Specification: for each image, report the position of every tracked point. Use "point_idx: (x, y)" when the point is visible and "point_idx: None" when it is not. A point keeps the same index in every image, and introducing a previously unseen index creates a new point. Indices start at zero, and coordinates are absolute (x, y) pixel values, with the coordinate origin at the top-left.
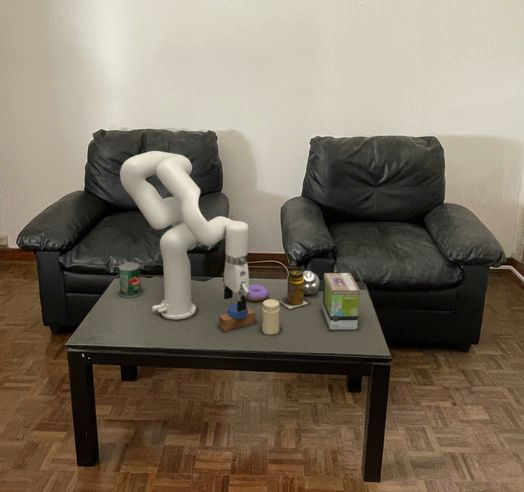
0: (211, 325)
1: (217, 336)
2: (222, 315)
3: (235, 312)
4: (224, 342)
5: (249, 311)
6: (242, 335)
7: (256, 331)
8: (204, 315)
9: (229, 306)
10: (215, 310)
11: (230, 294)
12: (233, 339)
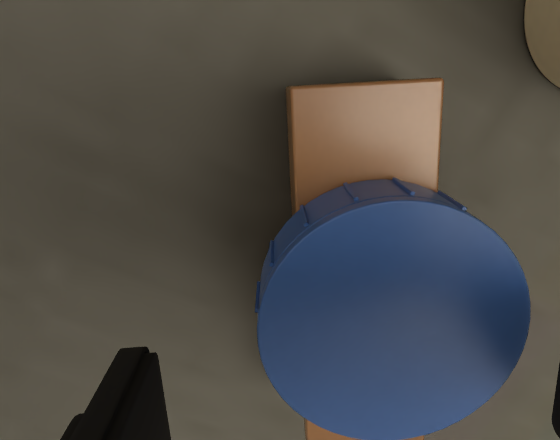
0: (257, 418)
1: (427, 435)
2: (318, 428)
3: (486, 401)
4: (528, 424)
5: (388, 140)
6: (526, 280)
7: (546, 146)
8: (79, 410)
9: (300, 403)
10: (19, 309)
11: (145, 433)
12: (533, 360)
